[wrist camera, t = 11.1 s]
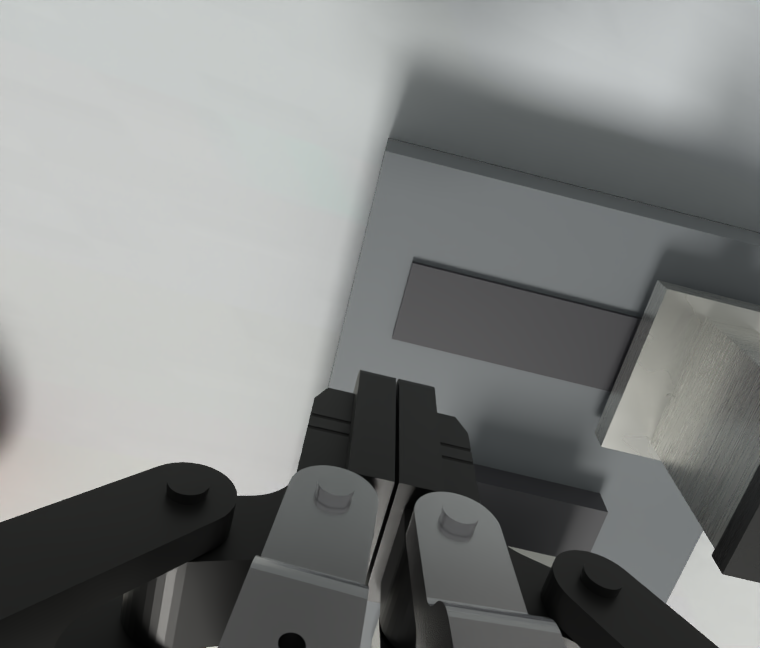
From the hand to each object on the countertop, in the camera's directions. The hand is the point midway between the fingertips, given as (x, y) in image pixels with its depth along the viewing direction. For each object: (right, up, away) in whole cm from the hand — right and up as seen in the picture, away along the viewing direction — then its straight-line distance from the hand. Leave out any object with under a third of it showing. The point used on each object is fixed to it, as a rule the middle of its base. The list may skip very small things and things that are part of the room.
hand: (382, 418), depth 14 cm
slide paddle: (+9, 0, +7) cm, 11 cm away
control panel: (+3, -6, +13) cm, 15 cm away
